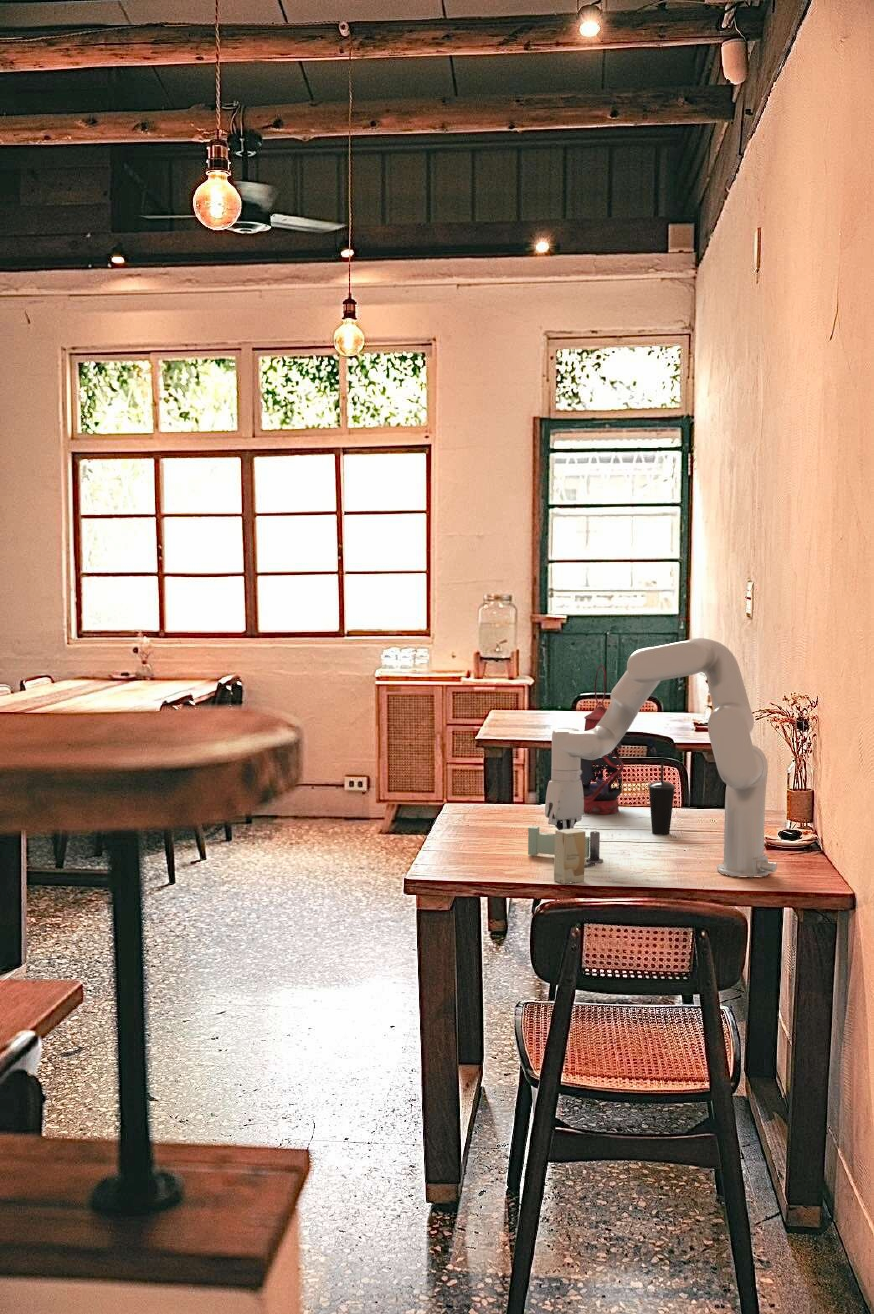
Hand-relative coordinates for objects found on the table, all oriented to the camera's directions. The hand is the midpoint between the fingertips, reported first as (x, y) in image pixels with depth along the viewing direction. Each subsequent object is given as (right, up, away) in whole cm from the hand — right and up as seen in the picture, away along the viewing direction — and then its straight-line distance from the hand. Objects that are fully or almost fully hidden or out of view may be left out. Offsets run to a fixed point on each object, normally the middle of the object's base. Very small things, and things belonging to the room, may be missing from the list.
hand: (564, 844), depth 318 cm
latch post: (+2, -3, -18) cm, 19 cm away
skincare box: (-2, -4, -29) cm, 29 cm away
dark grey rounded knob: (+7, -3, -9) cm, 12 cm away
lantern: (+17, +1, +56) cm, 58 cm away
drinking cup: (+30, -1, +24) cm, 38 cm away
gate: (-2, -2, -6) cm, 7 cm away
